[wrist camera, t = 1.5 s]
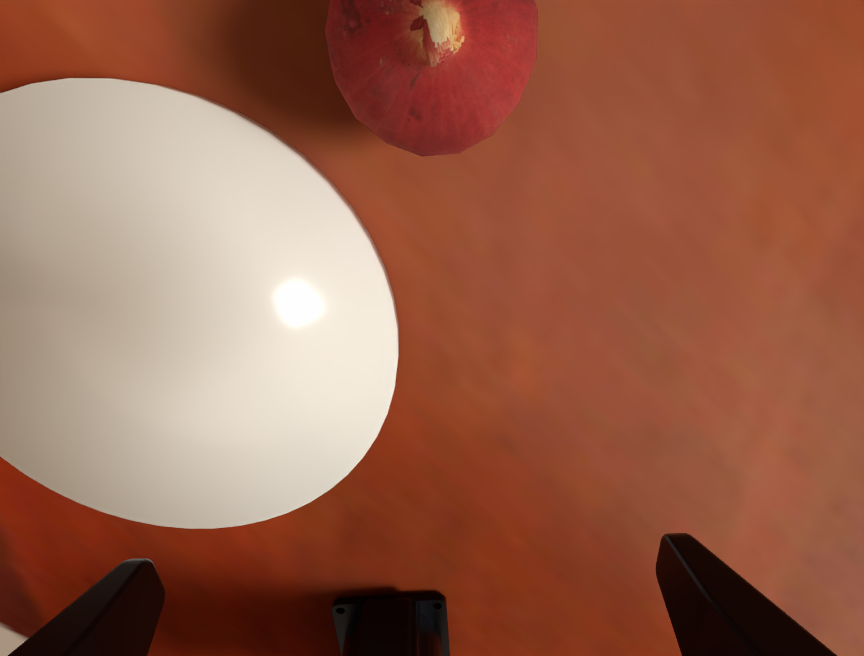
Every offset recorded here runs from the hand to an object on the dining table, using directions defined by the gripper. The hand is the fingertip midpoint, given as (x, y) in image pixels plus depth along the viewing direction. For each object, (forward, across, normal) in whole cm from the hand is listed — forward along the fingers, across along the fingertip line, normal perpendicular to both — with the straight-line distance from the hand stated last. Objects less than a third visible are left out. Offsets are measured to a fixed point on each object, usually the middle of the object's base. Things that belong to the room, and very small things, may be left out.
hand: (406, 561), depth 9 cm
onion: (+14, -1, -8) cm, 16 cm away
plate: (+13, +11, +2) cm, 17 cm away
